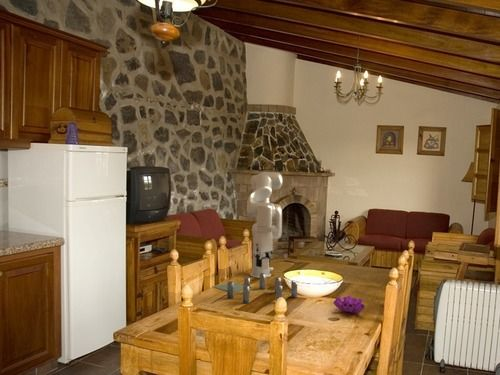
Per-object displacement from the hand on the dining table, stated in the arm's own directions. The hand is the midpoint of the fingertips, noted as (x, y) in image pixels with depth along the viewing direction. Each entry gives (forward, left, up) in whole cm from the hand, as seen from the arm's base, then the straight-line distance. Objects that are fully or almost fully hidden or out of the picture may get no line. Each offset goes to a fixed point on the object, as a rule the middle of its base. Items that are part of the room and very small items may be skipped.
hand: (263, 265), depth 229 cm
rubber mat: (-2, -23, -16) cm, 28 cm away
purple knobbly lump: (-13, +41, -16) cm, 46 cm away
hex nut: (0, 0, -1) cm, 1 cm away
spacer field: (0, 0, -16) cm, 16 cm away
